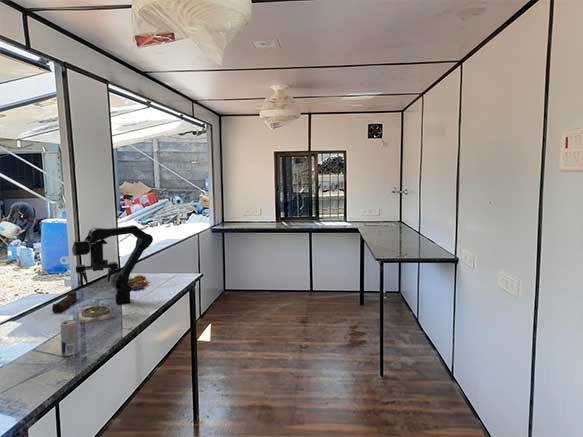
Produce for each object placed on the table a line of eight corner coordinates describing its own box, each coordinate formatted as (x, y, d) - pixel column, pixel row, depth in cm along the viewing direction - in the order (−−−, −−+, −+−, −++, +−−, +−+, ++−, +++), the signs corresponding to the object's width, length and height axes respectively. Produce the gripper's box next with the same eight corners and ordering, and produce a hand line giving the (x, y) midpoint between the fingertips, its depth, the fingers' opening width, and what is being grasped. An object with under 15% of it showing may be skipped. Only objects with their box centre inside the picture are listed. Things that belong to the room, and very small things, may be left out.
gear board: (109, 305, 198) (109, 299, 197) (113, 318, 181) (113, 311, 180) (78, 310, 191) (77, 303, 190) (79, 323, 174) (79, 315, 173)
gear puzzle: (129, 278, 254) (129, 272, 254) (155, 278, 256) (155, 272, 256) (114, 292, 223) (114, 285, 223) (143, 291, 226) (143, 284, 225)
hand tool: (62, 313, 187) (62, 302, 186) (51, 313, 186) (51, 302, 186) (82, 299, 209) (82, 289, 209) (73, 299, 209) (73, 289, 208)
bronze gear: (103, 309, 189) (103, 297, 188) (105, 314, 182) (105, 301, 182) (86, 311, 185) (85, 299, 185) (86, 316, 179) (86, 303, 178)
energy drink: (66, 350, 146) (64, 319, 144) (81, 350, 146) (79, 319, 145) (58, 357, 140) (57, 325, 139) (74, 356, 141) (73, 324, 140)
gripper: (75, 257, 181) (76, 290, 182) (119, 254, 190) (119, 285, 192) (75, 253, 191) (76, 284, 192) (116, 251, 200) (117, 280, 201)
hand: (97, 284), depth 194 cm, fingers open, 9 cm apart
